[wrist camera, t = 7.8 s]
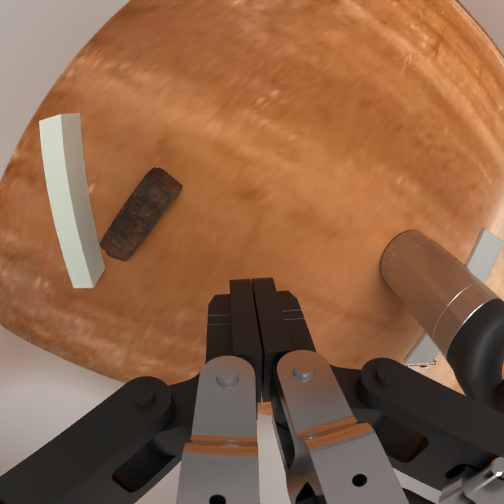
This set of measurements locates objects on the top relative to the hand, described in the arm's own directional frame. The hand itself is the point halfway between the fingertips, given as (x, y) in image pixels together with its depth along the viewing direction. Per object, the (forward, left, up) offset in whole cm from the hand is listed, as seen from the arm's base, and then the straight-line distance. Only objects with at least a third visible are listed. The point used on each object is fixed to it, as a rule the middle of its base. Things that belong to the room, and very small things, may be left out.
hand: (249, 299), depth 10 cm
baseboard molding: (-44, +24, -23) cm, 55 cm away
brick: (+10, +4, -23) cm, 25 cm away
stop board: (+19, +1, -23) cm, 29 cm away
